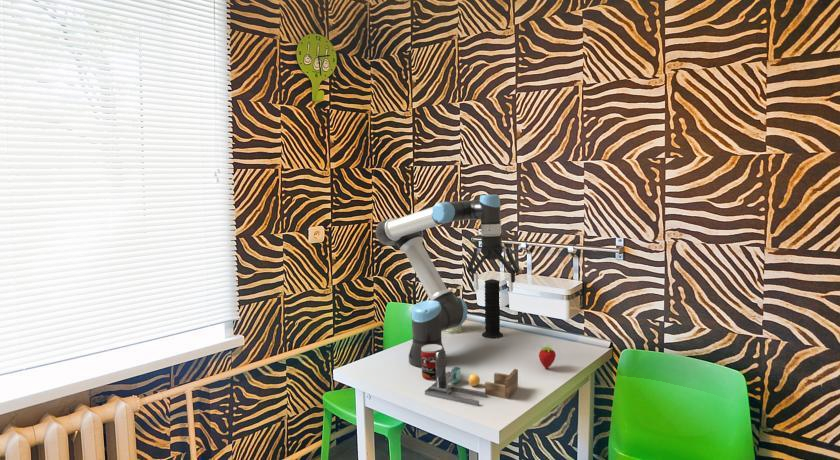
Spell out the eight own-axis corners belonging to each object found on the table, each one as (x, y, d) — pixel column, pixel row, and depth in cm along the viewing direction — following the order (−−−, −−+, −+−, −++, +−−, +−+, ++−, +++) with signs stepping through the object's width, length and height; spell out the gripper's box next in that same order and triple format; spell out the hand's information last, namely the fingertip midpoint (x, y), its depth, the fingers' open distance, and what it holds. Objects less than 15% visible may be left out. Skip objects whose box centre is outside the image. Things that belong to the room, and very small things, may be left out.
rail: (424, 394, 165) (424, 391, 165) (435, 385, 172) (435, 382, 172) (477, 405, 156) (477, 402, 156) (486, 396, 163) (486, 392, 163)
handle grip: (480, 338, 223) (503, 339, 221) (480, 281, 220) (502, 281, 218) (482, 331, 233) (503, 332, 231) (482, 276, 230) (503, 277, 228)
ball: (466, 386, 171) (466, 375, 170) (471, 382, 174) (471, 371, 174) (477, 388, 169) (477, 377, 168) (481, 384, 172) (481, 373, 172)
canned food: (417, 376, 180) (416, 347, 179) (432, 370, 186) (432, 342, 185) (432, 382, 175) (431, 352, 174) (447, 375, 181) (447, 347, 180)
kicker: (430, 392, 166) (429, 352, 165) (448, 377, 178) (447, 340, 177) (446, 395, 163) (445, 354, 162) (463, 380, 176) (462, 342, 174)
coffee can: (436, 330, 236) (435, 302, 234) (451, 326, 242) (451, 298, 241) (451, 335, 228) (450, 305, 226) (466, 330, 234) (466, 302, 233)
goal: (485, 394, 164) (484, 375, 164) (495, 383, 173) (495, 365, 172) (508, 399, 160) (508, 380, 160) (517, 387, 169) (517, 369, 168)
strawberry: (558, 367, 186) (558, 342, 185) (550, 374, 180) (550, 347, 179) (544, 364, 190) (544, 339, 189) (535, 370, 184) (535, 344, 183)
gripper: (457, 236, 187) (459, 291, 188) (522, 235, 177) (524, 293, 178) (463, 234, 194) (465, 287, 195) (526, 233, 184) (528, 289, 185)
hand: (493, 290), depth 187 cm, fingers open, 13 cm apart
